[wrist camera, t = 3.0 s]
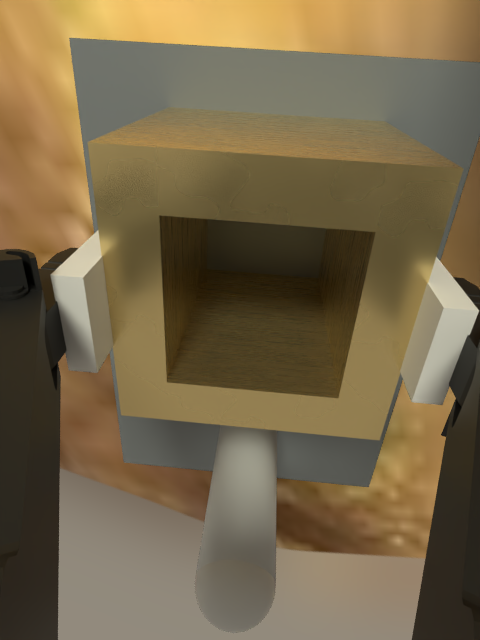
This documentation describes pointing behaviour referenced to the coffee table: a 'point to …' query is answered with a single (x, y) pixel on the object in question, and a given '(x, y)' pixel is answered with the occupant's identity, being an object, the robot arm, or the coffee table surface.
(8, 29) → the coffee table surface
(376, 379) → the collar
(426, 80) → the post plate
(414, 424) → the coffee table surface
